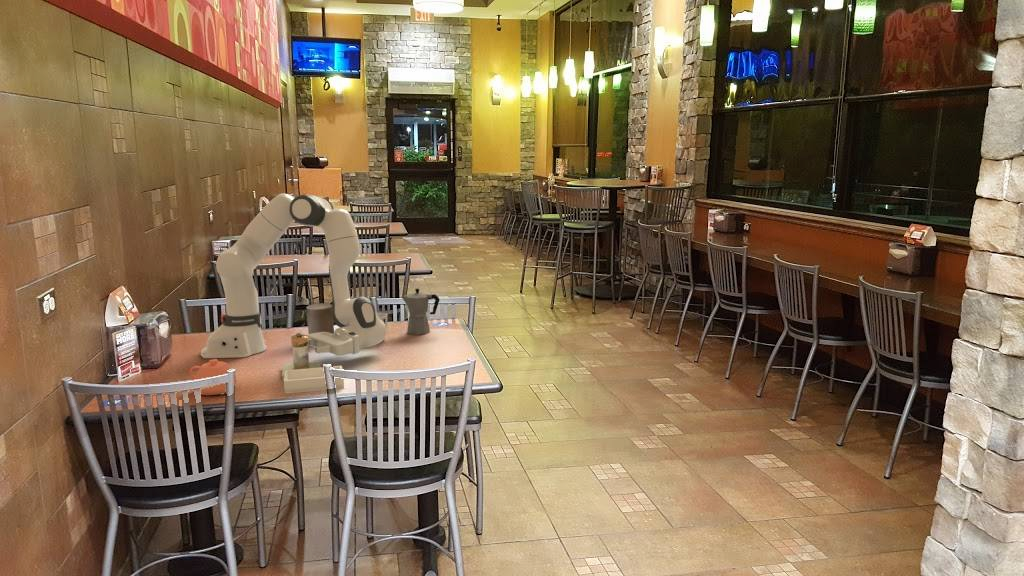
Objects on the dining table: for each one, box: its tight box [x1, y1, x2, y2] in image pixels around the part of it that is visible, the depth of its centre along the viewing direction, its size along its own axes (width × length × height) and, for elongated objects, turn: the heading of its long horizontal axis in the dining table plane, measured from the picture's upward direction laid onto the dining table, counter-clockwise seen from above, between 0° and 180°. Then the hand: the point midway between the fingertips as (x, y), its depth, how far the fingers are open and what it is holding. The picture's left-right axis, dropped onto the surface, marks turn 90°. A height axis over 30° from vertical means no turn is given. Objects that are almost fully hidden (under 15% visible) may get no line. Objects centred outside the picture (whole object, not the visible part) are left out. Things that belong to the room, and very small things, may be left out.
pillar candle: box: [306, 302, 335, 334], centre depth 269 cm, size 10×10×15 cm
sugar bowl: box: [189, 358, 238, 396], centre depth 213 cm, size 12×14×10 cm
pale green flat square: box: [281, 361, 321, 381], centre depth 231 cm, size 12×12×2 cm
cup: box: [376, 312, 388, 341], centre depth 269 cm, size 8×8×10 cm
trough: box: [283, 365, 345, 394], centre depth 219 cm, size 18×11×4 cm, turn 106°
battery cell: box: [290, 332, 310, 370], centre depth 230 cm, size 5×5×12 cm
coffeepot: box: [400, 288, 440, 336], centre depth 280 cm, size 15×9×18 cm, turn 88°
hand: (308, 347), depth 232 cm, fingers open, 8 cm apart
